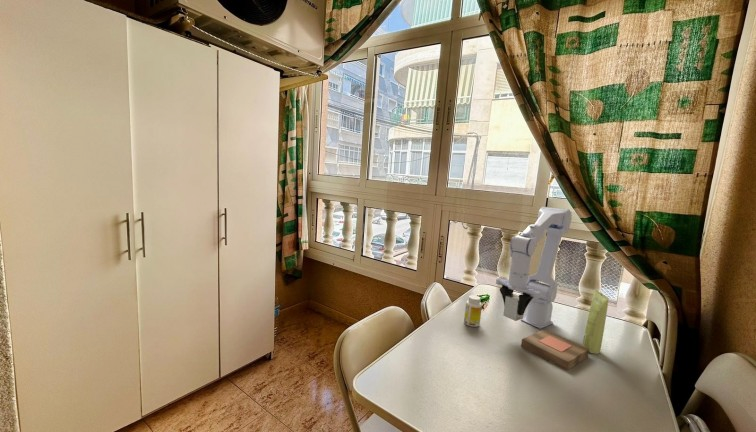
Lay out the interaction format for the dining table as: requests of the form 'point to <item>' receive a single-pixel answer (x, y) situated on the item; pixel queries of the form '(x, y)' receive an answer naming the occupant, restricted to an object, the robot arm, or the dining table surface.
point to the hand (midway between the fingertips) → (513, 311)
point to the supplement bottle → (473, 311)
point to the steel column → (512, 307)
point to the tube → (596, 323)
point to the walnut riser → (555, 348)
